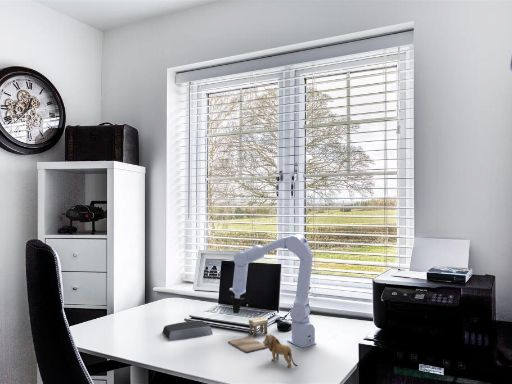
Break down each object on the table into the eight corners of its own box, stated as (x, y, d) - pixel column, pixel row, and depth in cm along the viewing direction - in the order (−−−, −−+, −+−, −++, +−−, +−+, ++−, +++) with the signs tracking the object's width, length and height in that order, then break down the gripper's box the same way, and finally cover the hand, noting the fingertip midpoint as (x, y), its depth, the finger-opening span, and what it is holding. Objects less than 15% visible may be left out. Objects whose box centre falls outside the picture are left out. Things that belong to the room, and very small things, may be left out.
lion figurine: (260, 359, 159) (260, 335, 159) (269, 355, 163) (269, 331, 163) (293, 370, 149) (293, 344, 149) (302, 365, 153) (302, 340, 153)
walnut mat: (267, 348, 171) (267, 346, 171) (246, 353, 165) (246, 351, 165) (248, 338, 182) (248, 336, 182) (228, 342, 177) (228, 341, 177)
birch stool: (267, 333, 189) (267, 319, 189) (254, 336, 185) (254, 322, 185) (262, 330, 192) (262, 317, 192) (249, 333, 189) (249, 319, 189)
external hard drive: (213, 335, 187) (213, 326, 187) (169, 342, 178) (169, 332, 178) (203, 327, 198) (203, 318, 198) (161, 333, 190) (161, 324, 190)
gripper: (232, 274, 194) (229, 304, 195) (229, 282, 180) (225, 314, 180) (247, 276, 194) (244, 306, 195) (246, 284, 180) (242, 316, 180)
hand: (236, 310), depth 188 cm, fingers open, 7 cm apart
